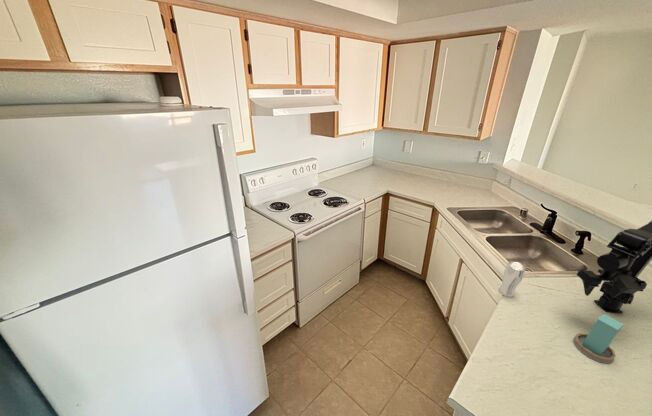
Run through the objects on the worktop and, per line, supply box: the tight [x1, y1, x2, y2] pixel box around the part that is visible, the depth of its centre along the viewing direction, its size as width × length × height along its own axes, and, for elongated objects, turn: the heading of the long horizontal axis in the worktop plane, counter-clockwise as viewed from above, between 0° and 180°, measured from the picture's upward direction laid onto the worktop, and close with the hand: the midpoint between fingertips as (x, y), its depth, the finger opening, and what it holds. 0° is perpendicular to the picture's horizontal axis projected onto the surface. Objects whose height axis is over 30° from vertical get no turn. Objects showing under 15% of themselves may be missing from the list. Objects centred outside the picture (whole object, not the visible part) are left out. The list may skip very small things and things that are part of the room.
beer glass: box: [498, 261, 527, 298], centre depth 116 cm, size 7×7×15 cm
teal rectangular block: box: [582, 313, 624, 356], centre depth 91 cm, size 5×5×13 cm
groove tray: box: [572, 332, 616, 365], centre depth 93 cm, size 11×11×2 cm
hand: (599, 296), depth 102 cm, fingers open, 9 cm apart
